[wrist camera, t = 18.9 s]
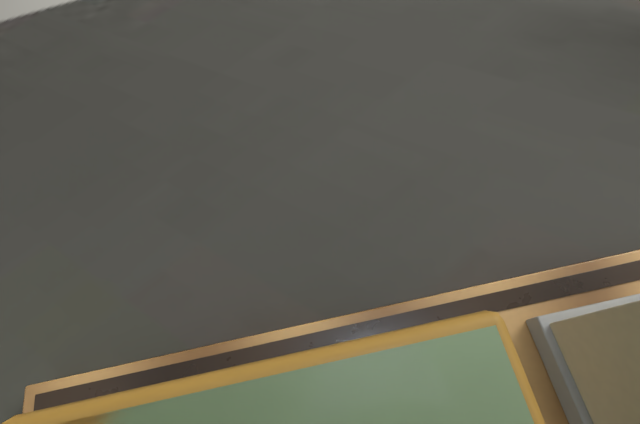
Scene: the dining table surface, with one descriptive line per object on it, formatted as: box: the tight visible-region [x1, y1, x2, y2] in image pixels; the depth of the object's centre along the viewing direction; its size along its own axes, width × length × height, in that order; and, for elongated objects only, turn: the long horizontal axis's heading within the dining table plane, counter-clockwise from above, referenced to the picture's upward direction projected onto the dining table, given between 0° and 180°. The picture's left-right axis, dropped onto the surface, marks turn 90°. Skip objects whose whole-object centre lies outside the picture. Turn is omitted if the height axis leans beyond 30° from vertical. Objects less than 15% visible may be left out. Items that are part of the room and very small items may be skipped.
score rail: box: [22, 250, 640, 424], centre depth 12 cm, size 26×7×4 cm, turn 102°
